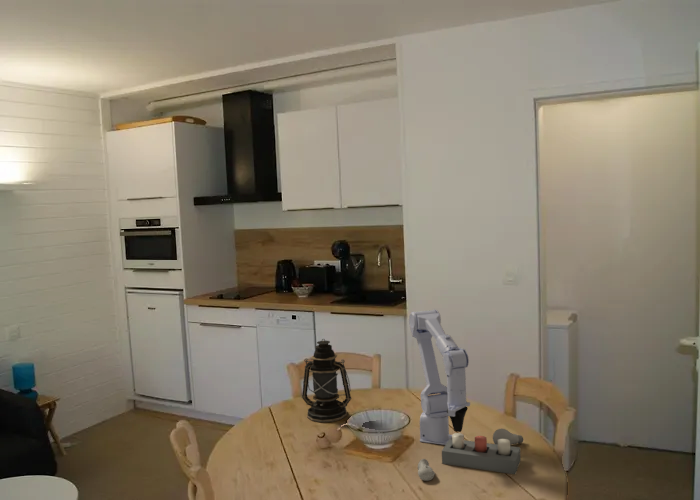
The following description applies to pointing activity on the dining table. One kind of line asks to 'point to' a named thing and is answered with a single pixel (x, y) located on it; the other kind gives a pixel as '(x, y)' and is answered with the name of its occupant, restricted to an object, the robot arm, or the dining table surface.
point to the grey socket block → (481, 457)
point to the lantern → (325, 385)
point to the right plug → (504, 447)
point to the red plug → (480, 444)
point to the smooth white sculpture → (425, 470)
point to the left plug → (458, 440)
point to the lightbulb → (506, 436)
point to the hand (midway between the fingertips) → (458, 430)
